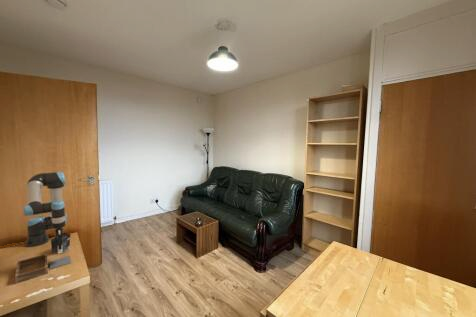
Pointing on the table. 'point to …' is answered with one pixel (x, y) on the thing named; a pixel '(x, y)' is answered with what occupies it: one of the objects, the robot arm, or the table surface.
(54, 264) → the pad
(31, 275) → the shallow wooden tray
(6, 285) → the table surface
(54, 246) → the box
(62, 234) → the coffee cup
